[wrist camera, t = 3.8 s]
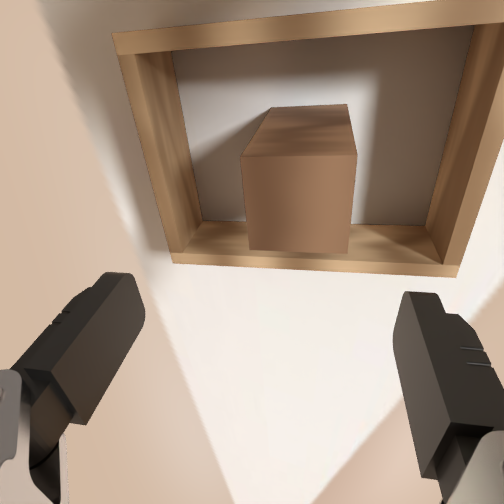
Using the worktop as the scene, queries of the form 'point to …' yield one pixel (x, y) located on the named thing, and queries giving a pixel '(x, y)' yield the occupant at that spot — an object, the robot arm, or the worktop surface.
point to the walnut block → (300, 180)
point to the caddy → (361, 236)
